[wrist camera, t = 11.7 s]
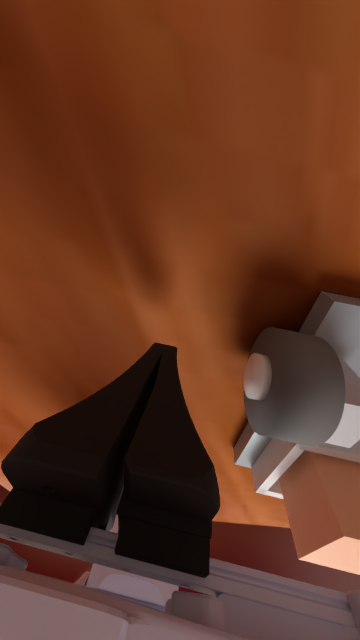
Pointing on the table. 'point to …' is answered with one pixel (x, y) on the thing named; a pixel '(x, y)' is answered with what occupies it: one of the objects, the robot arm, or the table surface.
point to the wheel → (293, 387)
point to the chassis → (356, 423)
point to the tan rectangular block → (324, 509)
